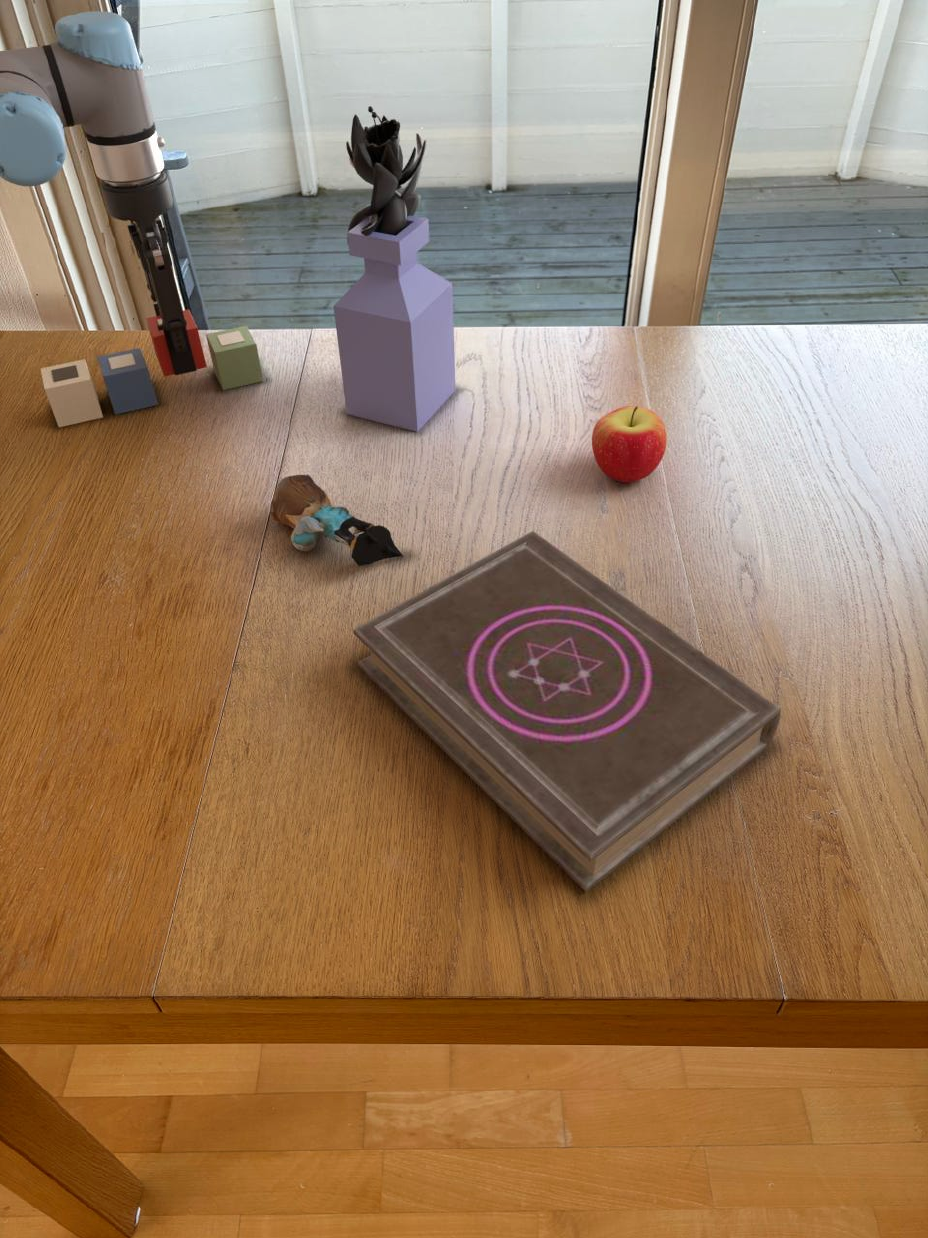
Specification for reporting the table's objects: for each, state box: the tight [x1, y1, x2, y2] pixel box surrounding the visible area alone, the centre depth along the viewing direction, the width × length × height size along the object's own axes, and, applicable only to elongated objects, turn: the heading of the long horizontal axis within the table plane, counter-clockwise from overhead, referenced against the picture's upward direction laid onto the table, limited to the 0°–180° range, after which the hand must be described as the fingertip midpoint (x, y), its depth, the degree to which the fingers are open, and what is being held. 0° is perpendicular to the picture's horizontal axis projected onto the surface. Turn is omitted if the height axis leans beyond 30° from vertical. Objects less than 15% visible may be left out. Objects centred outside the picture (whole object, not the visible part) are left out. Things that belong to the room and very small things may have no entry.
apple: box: [591, 405, 668, 483], centre depth 107 cm, size 8×8×10 cm
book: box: [352, 530, 782, 893], centre depth 84 cm, size 30×22×5 cm
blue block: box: [96, 347, 159, 415], centre depth 122 cm, size 6×6×6 cm
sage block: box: [205, 325, 264, 391], centre depth 126 cm, size 6×6×6 cm
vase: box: [333, 106, 457, 433], centre depth 111 cm, size 14×12×35 cm
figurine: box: [269, 474, 405, 567], centre depth 100 cm, size 8×16×6 cm, turn 48°
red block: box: [145, 309, 208, 377], centre depth 121 cm, size 6×6×6 cm
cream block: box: [40, 359, 104, 428], centre depth 120 cm, size 6×6×6 cm
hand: (181, 360), depth 123 cm, fingers closed on red block, 5 cm apart
